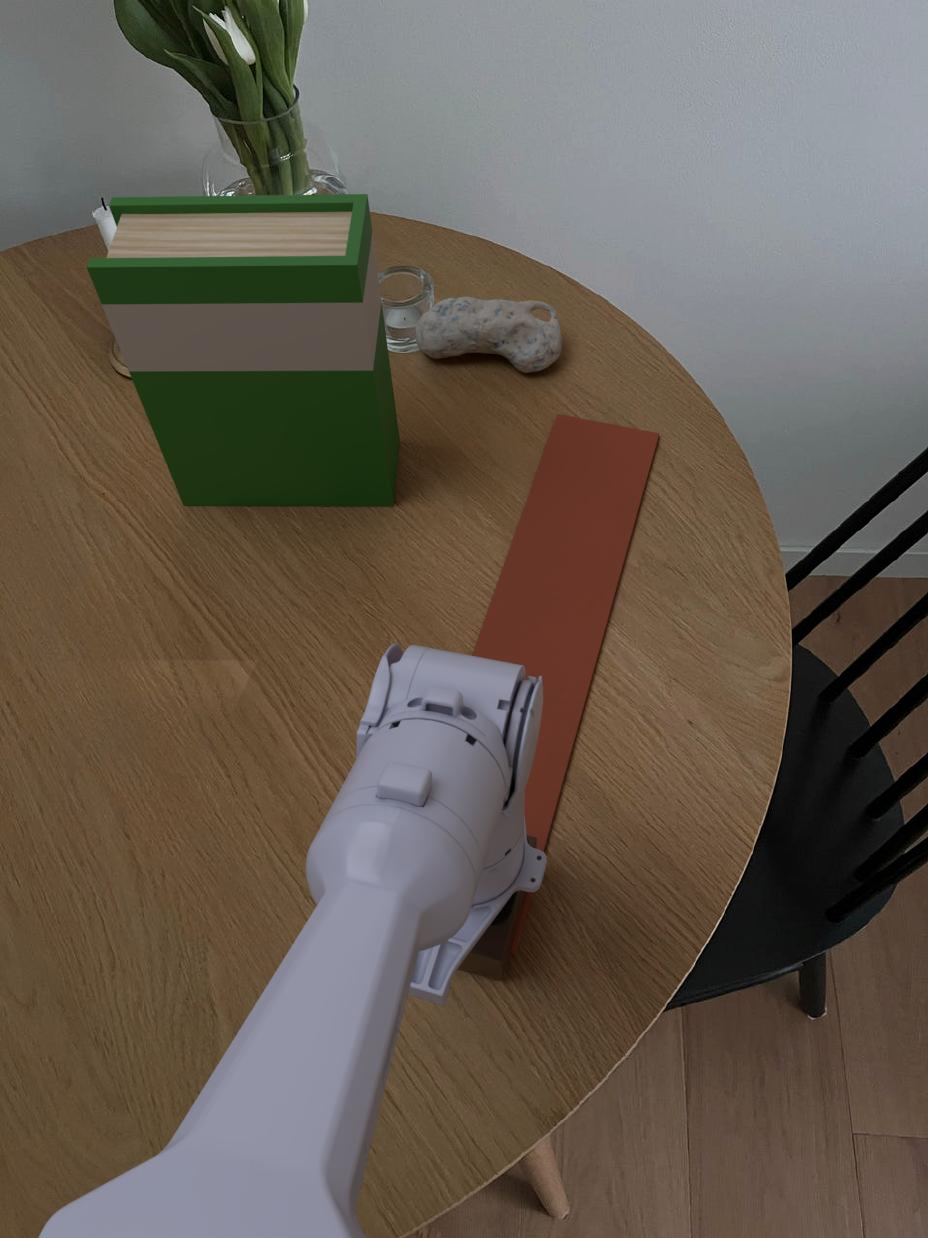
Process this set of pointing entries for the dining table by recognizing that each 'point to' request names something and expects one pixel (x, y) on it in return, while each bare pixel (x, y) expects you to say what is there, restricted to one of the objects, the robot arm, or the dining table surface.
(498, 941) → the walnut block
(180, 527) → the dining table surface
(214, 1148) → the robot arm
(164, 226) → the hardback book
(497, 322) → the decorative stone
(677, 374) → the dining table surface
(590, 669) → the terracotta mat
